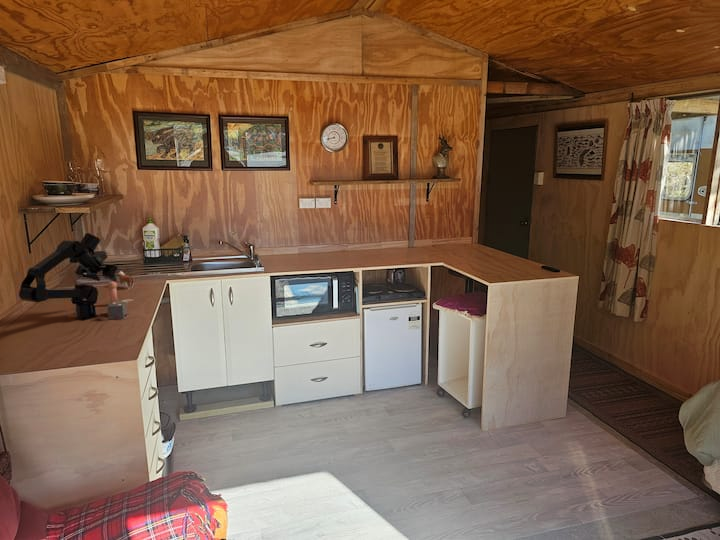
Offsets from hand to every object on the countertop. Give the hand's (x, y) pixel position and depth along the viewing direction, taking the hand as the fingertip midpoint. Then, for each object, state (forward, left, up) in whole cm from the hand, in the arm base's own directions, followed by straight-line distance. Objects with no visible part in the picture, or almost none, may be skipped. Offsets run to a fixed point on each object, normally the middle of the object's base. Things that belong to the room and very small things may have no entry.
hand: (107, 280), depth 230 cm
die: (-5, -15, -13) cm, 21 cm away
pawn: (+2, 0, -12) cm, 12 cm away
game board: (+6, +1, -13) cm, 15 cm away
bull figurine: (+27, +31, -14) cm, 43 cm away
